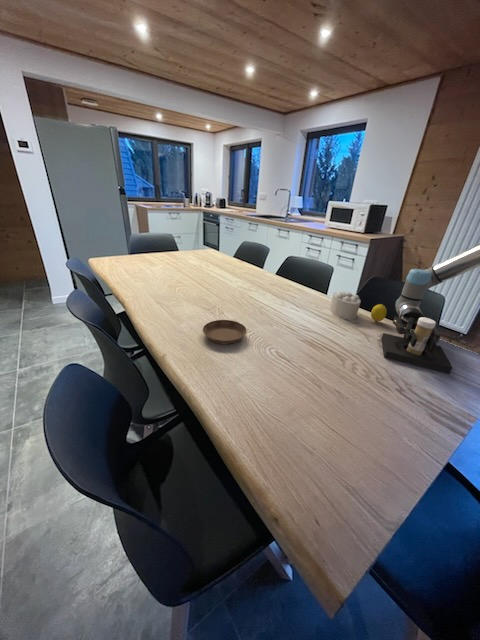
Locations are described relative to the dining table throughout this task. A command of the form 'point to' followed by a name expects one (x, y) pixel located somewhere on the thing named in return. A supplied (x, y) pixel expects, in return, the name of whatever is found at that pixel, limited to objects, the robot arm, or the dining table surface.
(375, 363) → the dining table surface
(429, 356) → the dock pad
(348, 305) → the lumpy-topped squat cylinder
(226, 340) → the saucer
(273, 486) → the dining table surface
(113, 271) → the dining table surface
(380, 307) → the lemon
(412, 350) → the sprinkles bottle
